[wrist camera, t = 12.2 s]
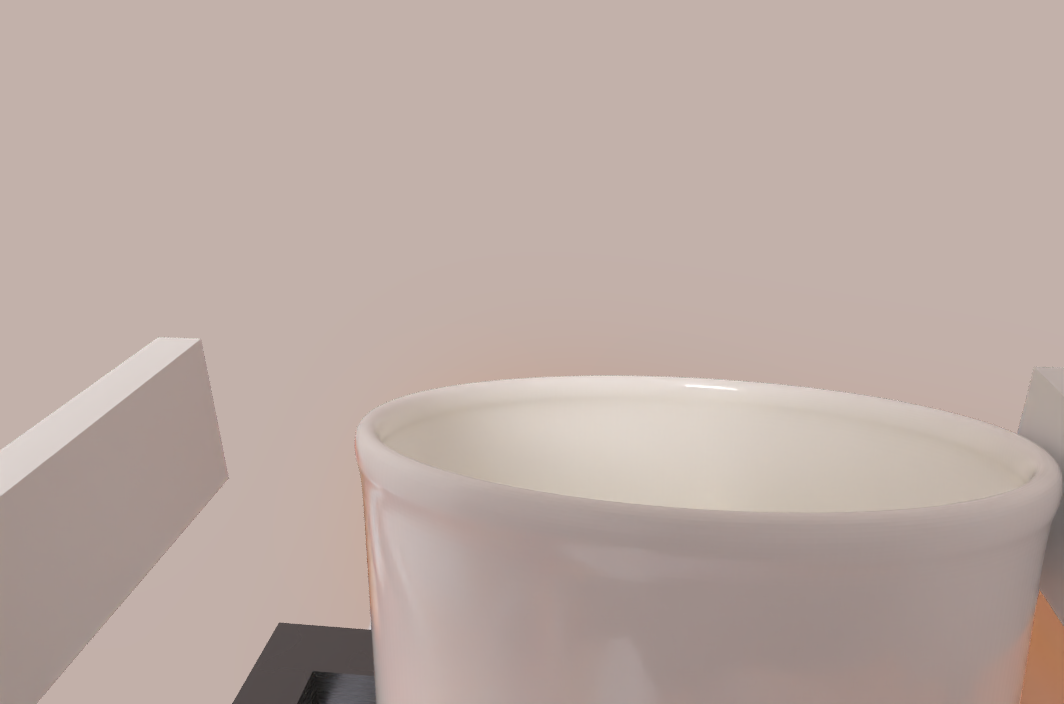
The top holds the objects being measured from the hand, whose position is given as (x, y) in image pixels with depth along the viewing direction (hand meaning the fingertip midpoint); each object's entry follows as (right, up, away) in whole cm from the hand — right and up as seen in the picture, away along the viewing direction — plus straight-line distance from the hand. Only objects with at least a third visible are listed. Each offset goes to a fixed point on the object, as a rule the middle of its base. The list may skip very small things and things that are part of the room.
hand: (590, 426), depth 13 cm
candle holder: (+1, -12, +1) cm, 12 cm away
